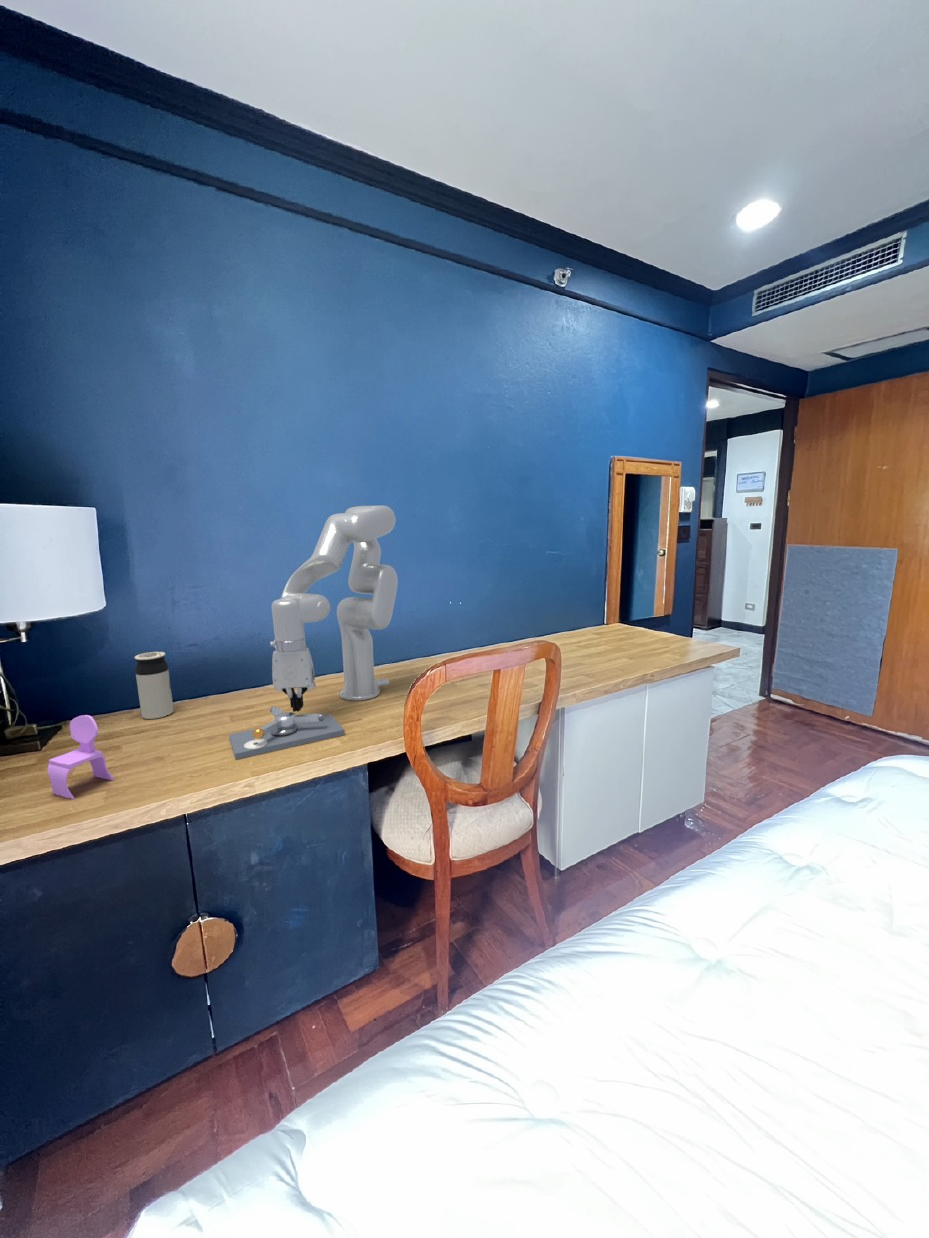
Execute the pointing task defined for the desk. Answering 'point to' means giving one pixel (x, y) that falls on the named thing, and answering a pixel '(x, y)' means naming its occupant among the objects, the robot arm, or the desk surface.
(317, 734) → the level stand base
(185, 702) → the desk surface
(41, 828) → the desk surface
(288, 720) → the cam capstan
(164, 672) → the travel mug
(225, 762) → the desk surface
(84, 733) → the toy chair
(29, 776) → the desk surface
